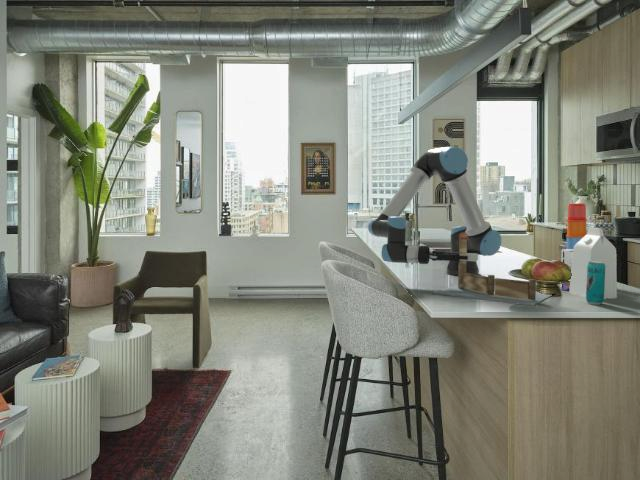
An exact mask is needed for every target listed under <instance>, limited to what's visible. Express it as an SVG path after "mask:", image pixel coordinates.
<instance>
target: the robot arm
mask: <svg viewBox="0 0 640 480" xmlns="http://www.w3.org/2000/svg"><path fill="white" fill-rule="evenodd" d="M468 162H469V159H468V155H467V153H466V151H464V150H463V149H462V148H461V147H458V146H452V145H451V146H450V145H449V146H444V147H437V148H436V147H435V148H434V147H433V148H431V149H429V150H427V151H425V152H424V153H423V154H422V155H421V156H420V157H419V158H418V159H417V160H416V162H414V164H413V166H412V167H411V168H410V173H409V175H408V176H407V177H406V179H404V182H403V183H402V184H401V186H400V187H399V188H398V190H397V191H396V192H395V194H394V195H393V197H392V198H391V199H390V200H389V202H388V204H386V206H385V208H383V210H382V212H381V213H380V214H379V215H378V217H377V218H374V219H371V220H370V221H369V223H368V226H367V227H368V228H367V229H368V232H369V234H371V236H374V237H377V238H380V237H381V238H387V243H384V244H383V245H382V247H381V259H382V260H383V262H388V263H395V264H396V263H399V264H410V265H412V266H413V264H418V263H419V264H420V265H428V264H429V262H430V260H431V261H433V262H434V261H435V262H436V261H444V262H445V261H447V262H448V264H447V267H446V274H448V275H451V276H458V271H459V259H460V261H466V273H470V274H475V275H480V273H479V272H480V271H479V270H480V269H479V265H478V261H479V255H480V256H483V257H485V256H487V257H489V256H494V255H495V254H497V252H499V250H500V248H501V245H502V236H501V234H500V232H499V231H497V230H495V229H493V228H492V226H491V223H490V222H489V221H487V220H486V219H485V218H484V216H483V214H482V211H481V208H480V207H479V204H478V202H477V200H476V197H475V194H474V193H473V190H472V188H471V186H470V183H469V181H468V179H467V172H468V170H467V168H468ZM435 175H438V176H439V178H440V180H441V182H442V183H445V184H446V185H447V187H448V189H449V192H450V194H451V196H452V198H453V200H454V203H455V205H456V208H457V209H458V212H459V214H460V216H461V219H462V220H463V223H464V225H462V226H460V225H459V226H454V227H452V228H451V231H450V232H451V233H450V251H443V250H436V249H435V250H431V248H430V246H428V245H420V246H419V245H417V244H415V245H414V244H409V245H408V244H406V233H407V231H406V230H407V224H406V223H407V222H406V218H405V216H401V215H402V214H403V213H404V211H406V208H407V207H408V206H409V205H410V203H411V202H412V200H413V199H414V198H415V196H416V194H417V193H418V192H420V189H421V188H422V187H423V185H424V184H425V183H427V182H429V181H430V179H431V178H432V177H433V176H435ZM462 232H465V233H466V234H467V235H468V238H467V254H460V256H459V234H460V233H462Z"/></svg>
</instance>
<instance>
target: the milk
mask: <svg viewBox="0 0 640 480" xmlns="http://www.w3.org/2000/svg"><path fill="white" fill-rule="evenodd" d="M586 234H587V235H585V236H584V237H583V238H582V239H581V240H580V241H579V242H577V243H576V245H575V246H574V249H573V259H572V269H571V273H572V276H571V279H570V290H568V293H569V294H570V295H573V296H574V295H575V296H577V297H580V298H584V299H586V285H587V265H588V263H589V261H603V262H605V263H604V264H605V266H606V267H605V288H604V300H605V299H607V298H608V299H618V297H617V295H618V292H617V291H618V290H617V289H618V287H617V285H618V284H617V279H618V278H617V249H616V247H615V245H613V243H612V242H611V241H609V240H608V239H607V237H606V236H605V234H604V229H603V228H601V227H592V226H591V227H588V229H587V231H586Z"/></svg>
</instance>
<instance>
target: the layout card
mask: <svg viewBox="0 0 640 480" xmlns="http://www.w3.org/2000/svg"><path fill="white" fill-rule="evenodd" d="M537 291H538V290H536V296H535V300H530V299H524V298H516V297H507V296H499V295H495V286H494V295H488V294H486V293H482V292H477V291H473V290H468V289H464V288H458V284H455V285H452V286H449V287H445V288H441V289H439V290H436V291H433V292H432V294H437V295H443V296H451V297H458V298H459V297H460V298H468V299H476V300H485V301H493V302H499V303H507V304H517V305H522V306H523V305H524V306H535V305H537V304H539V303H541V302H543V301H545V300H547V299H549V298H551V297H552V295H545V294H541V293H539V292H537Z"/></svg>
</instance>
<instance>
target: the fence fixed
mask: <svg viewBox="0 0 640 480" xmlns="http://www.w3.org/2000/svg"><path fill="white" fill-rule="evenodd" d="M487 277H488V292H487V294H488V295H494V287H495V295H499V296H507V297H516V298H524V299H530V300H535V296H536V291H537V279H535V278H528V280H518V279H509V278H508V279H507V278H498V277H497V278H496V276H495V274H488V275H487Z"/></svg>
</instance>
